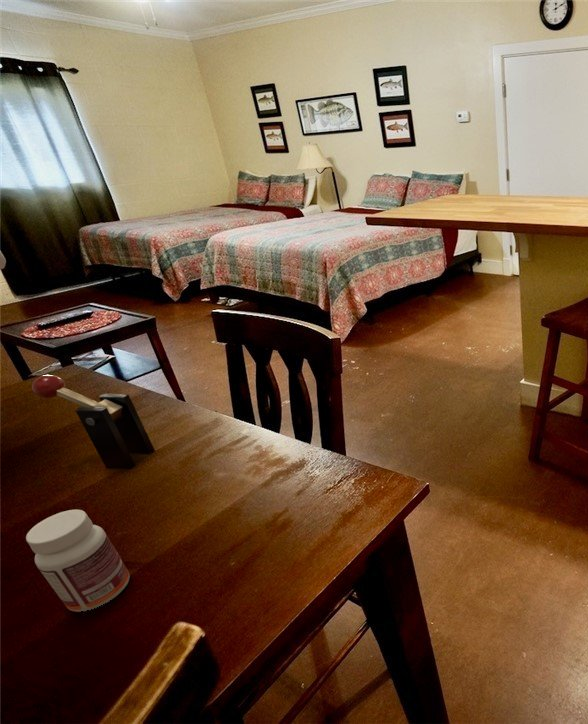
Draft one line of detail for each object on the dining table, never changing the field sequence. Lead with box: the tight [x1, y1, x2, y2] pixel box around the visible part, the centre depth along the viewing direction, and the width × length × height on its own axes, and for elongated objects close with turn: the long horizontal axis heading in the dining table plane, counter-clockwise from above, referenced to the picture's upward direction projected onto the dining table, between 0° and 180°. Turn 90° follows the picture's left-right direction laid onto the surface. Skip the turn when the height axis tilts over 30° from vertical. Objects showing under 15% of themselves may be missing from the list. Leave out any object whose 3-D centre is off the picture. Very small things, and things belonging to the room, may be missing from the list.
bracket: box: [74, 393, 156, 470], centre depth 78 cm, size 9×7×13 cm
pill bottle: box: [25, 509, 131, 613], centre depth 56 cm, size 6×6×11 cm
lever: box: [31, 374, 122, 421], centre depth 75 cm, size 12×4×4 cm
